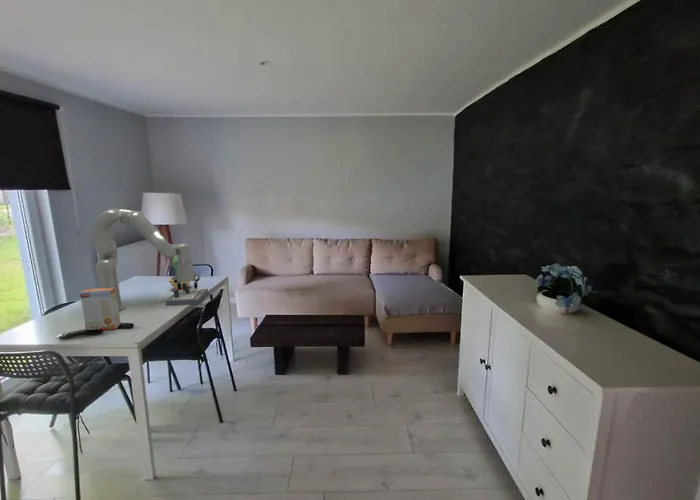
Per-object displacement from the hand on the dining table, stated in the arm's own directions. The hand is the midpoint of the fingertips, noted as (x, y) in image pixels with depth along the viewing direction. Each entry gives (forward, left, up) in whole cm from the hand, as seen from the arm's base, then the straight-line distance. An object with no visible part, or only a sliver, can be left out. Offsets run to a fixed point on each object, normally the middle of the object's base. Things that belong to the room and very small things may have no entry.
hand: (188, 289), depth 226 cm
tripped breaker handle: (0, 0, -2) cm, 2 cm away
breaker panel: (0, 0, -7) cm, 7 cm away
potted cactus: (+26, +12, -7) cm, 29 cm away
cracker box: (-43, +29, -7) cm, 53 cm away
